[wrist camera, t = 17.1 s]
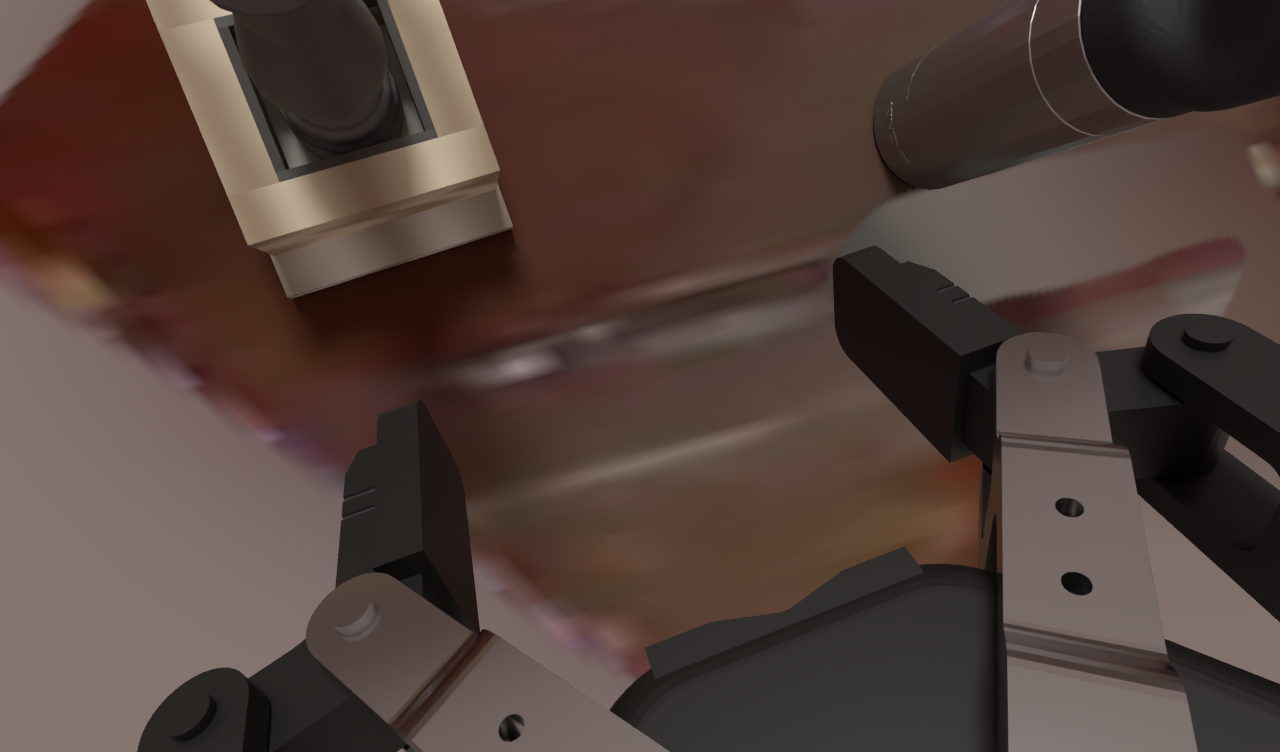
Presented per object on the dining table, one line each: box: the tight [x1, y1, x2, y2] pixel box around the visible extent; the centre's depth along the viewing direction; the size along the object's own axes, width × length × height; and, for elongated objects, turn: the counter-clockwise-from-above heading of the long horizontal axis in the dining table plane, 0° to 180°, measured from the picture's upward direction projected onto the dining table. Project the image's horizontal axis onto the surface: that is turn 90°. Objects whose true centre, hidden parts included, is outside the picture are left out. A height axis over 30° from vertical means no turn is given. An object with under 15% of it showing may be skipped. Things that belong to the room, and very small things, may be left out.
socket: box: [146, 0, 513, 299], centre depth 38 cm, size 14×18×6 cm
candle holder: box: [210, 0, 405, 160], centre depth 28 cm, size 6×6×25 cm
